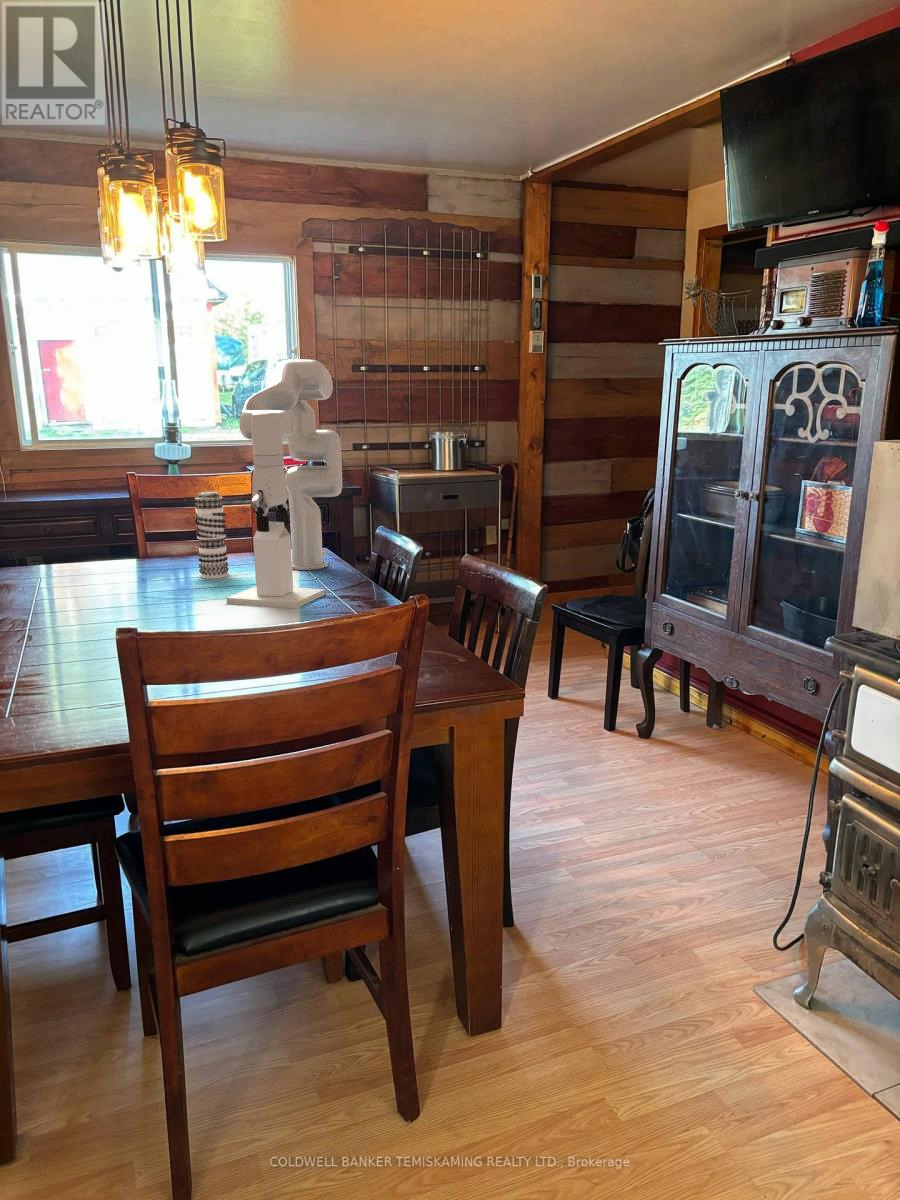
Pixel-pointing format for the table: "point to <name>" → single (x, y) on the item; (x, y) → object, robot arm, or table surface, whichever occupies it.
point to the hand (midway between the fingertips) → (273, 528)
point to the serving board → (276, 598)
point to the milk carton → (273, 561)
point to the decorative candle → (211, 535)
